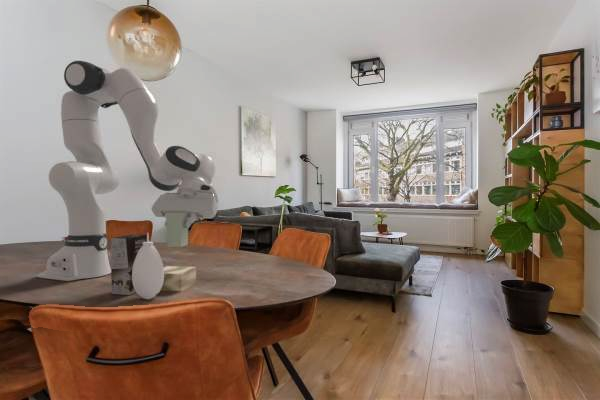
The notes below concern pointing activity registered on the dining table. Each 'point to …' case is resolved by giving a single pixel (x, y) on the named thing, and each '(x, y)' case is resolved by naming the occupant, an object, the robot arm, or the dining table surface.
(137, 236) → the coffee box
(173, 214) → the sage post
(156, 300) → the dining table surface
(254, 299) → the dining table surface
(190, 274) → the base block
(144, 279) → the white air blower bulb
